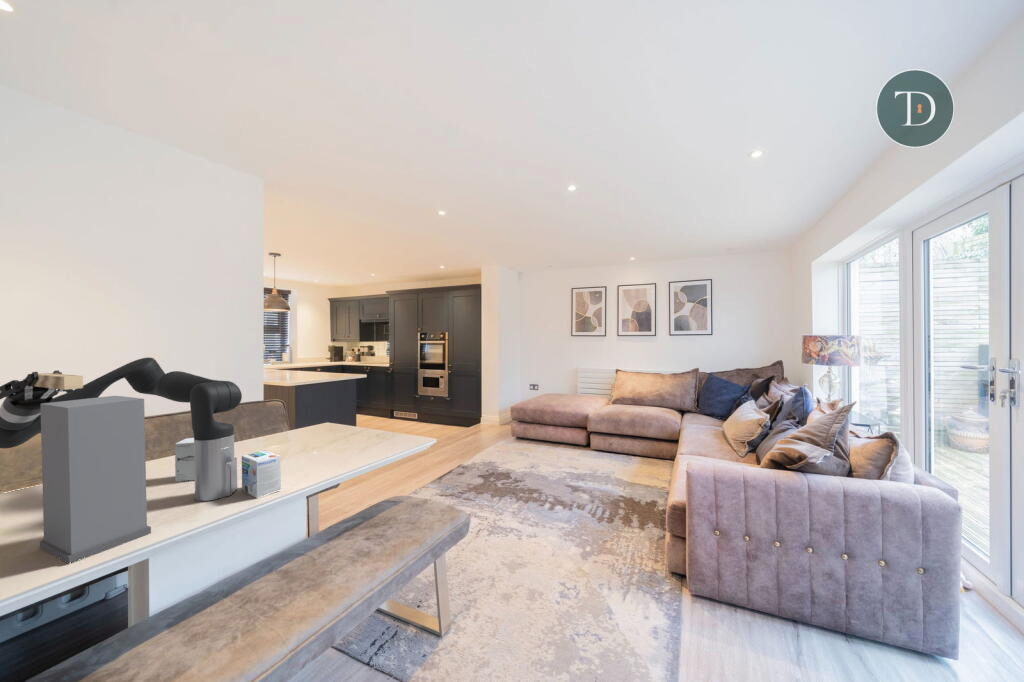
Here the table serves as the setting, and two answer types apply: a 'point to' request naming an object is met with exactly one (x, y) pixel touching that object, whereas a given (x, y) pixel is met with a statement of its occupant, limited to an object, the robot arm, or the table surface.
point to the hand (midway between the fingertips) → (47, 374)
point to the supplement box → (184, 460)
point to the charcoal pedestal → (93, 475)
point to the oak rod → (59, 381)
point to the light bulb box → (261, 473)
